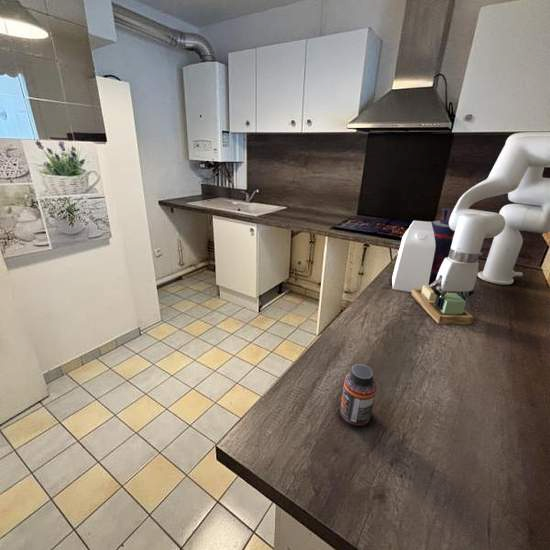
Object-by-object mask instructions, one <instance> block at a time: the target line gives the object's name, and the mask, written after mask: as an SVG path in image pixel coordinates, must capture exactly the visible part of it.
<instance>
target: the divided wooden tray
mask: <svg viewBox="0 0 550 550" xmlns="http://www.w3.org/2000/svg"><path fill="white" fill-rule="evenodd" d="M421 292H422V289H412V292H410V293H411V294H410V295H411V296H412V297H413V299H414V300H415V301H416V302H417V303H418V304H419V305H420V306H421V307H422V308H423V309H424V311H426V312H427V314H428V315H429V316H431V318H432V319H433V320H434V321H435V322H436V323H437V324H438V325H439V324H440V325H472V324H473V322H474V318H475V317H474V316H473V315H472V314H470V312H469V311H467V310H466V309H465V308H464V311H463V314H443V313H442V312H441V311H440V310H439V309H438V308H437V307H436V306H435V305H434V304H435V301H427V300H426V299H425V298H424V297H423V296H422V295H421Z"/></svg>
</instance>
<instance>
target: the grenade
mask: <svg viewBox="0 0 550 550" xmlns="http://www.w3.org/2000/svg"><path fill="white" fill-rule="evenodd" d="M454 208H455V207H451V206H450V207H442V208H441V217H440V218H439V220H432V221H430V222H431V223H432V227H433V231H434V237H435V245H436V247H435V253H434V258H433V263H432V269H431V274H430V279H429V283H431V284H432V283H433V282H434V281H436V278H437V275H438V272H439V269H440V267H441V265H442V263H443V261H444V259H445V258H446V257H448V256H449V252H450V248H451V245H452V241H453V237H454V233H455V231H453V230H452V229H450V227H449V219H450V216H451V214H452V212H453V210H454Z"/></svg>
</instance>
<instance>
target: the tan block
mask: <svg viewBox="0 0 550 550" xmlns="http://www.w3.org/2000/svg"><path fill="white" fill-rule="evenodd" d="M429 285H430V284H428V285H423V287H422V292H421V295H422V296H423V297H424V298H425V299H426V300H427V301H435V300H436V297H437V295H436V294H435V293H434V292H433V291H432V289H431V288H430V287H429ZM439 287H440V286H437V287H436V289H437V290H438V289H439ZM441 293H442V292H441ZM447 293H449V291H448V292H447Z"/></svg>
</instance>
